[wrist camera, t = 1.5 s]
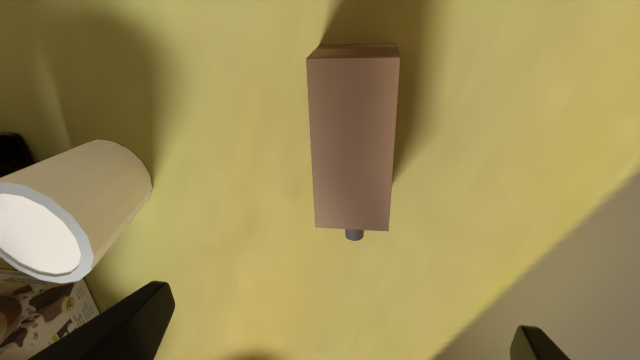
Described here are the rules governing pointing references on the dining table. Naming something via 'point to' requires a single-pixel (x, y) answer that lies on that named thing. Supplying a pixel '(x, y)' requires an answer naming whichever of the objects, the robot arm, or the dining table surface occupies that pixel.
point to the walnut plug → (353, 134)
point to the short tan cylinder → (70, 209)
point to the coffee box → (39, 312)
